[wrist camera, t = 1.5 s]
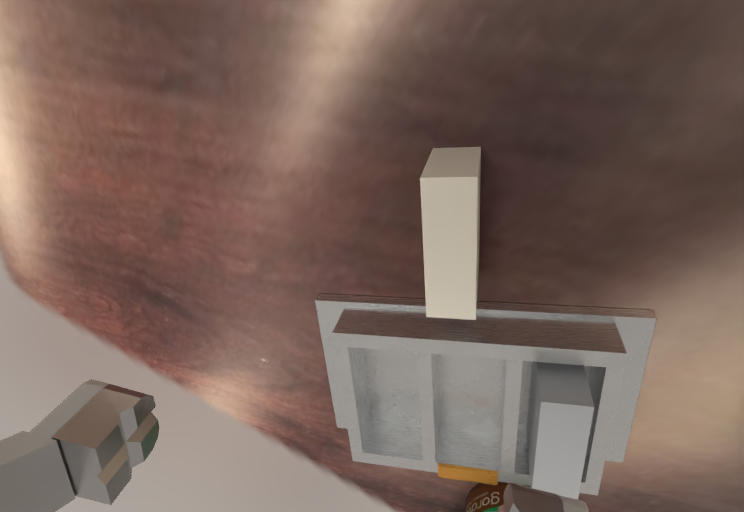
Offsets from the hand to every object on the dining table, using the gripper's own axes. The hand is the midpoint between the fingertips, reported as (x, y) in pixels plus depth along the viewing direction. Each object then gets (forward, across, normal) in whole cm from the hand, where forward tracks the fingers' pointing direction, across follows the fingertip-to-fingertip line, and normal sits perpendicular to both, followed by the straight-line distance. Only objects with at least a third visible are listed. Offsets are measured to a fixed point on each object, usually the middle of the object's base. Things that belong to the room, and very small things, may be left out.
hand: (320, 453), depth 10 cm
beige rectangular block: (+23, -3, +3) cm, 23 cm away
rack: (+23, -6, +16) cm, 29 cm away
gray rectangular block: (+22, -12, +15) cm, 29 cm away
